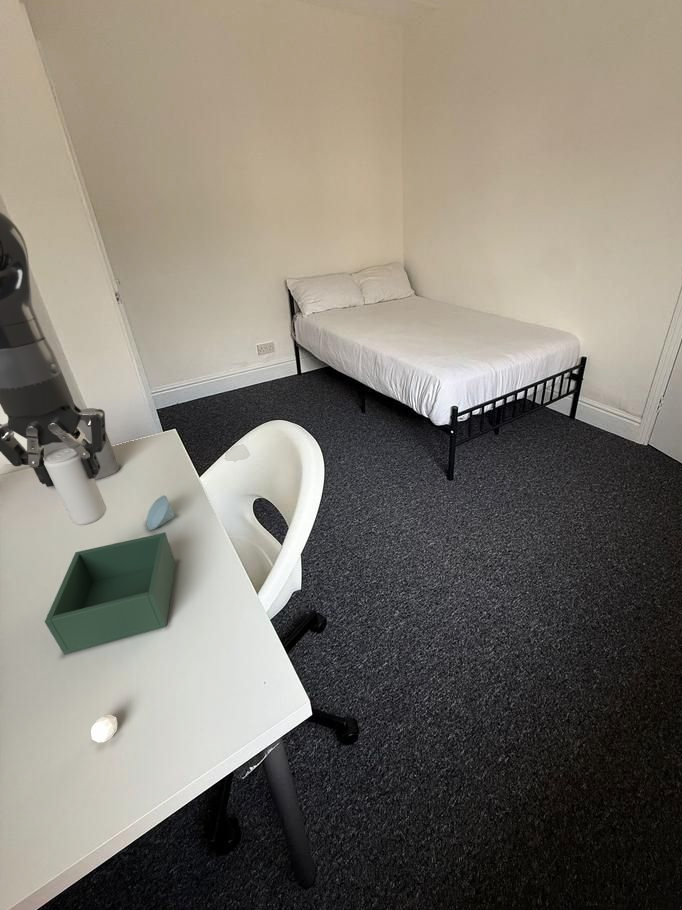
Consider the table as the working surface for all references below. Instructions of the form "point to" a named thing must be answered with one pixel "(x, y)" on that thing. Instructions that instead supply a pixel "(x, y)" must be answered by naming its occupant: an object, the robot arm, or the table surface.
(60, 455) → the beverage can
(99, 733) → the polyhedron
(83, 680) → the table surface
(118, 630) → the bin
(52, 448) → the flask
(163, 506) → the gemstone
